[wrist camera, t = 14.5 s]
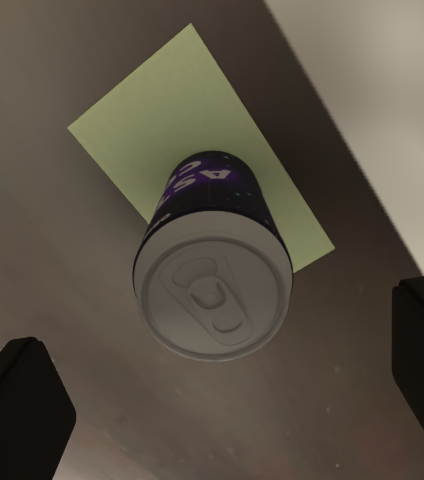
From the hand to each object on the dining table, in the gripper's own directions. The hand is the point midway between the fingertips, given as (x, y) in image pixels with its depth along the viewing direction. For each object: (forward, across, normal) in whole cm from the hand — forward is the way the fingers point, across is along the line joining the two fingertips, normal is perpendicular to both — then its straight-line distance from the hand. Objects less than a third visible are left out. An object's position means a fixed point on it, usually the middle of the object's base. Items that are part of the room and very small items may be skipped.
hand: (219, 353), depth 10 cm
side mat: (+14, 0, 0) cm, 14 cm away
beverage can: (+14, 0, 0) cm, 14 cm away
